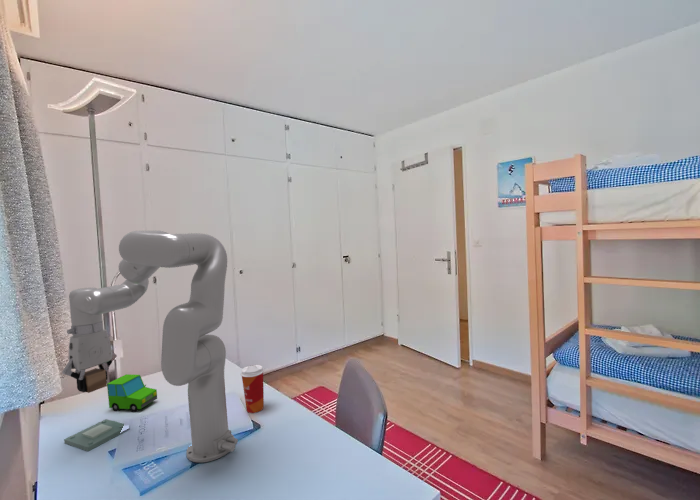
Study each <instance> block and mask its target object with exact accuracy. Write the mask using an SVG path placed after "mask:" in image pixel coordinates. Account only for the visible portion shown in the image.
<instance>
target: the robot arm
mask: <svg viewBox="0 0 700 500" xmlns="http://www.w3.org/2000/svg"><path fill="white" fill-rule="evenodd" d="M118 254H119V255H120V257H121V258H122V259H121V261H120V262H119V264H118V271H119V273H120V275H121V276H122V277H123V278H124V279H125V280H124V281H123V282H122V283H120V284H118V285H117V284H116V285H109V286H104V287H100V288H97V287H84V288H77V289H73V290H71V291H70V292H69V294H68V300H69V301H68V302H69V310H70V311H69V312H70V322H71V323H70V324H71V326H70V328H69V329H67V330H66V333H67V334H68V335H70V337H69V342H68V362H67V364H66V365H65V366H64V368H63V370H62V371H61V373H62V374H63V375H66V376H69V377H71V378H73V379H75V380H76V388H77V390H78V392H82V393H87V392H86V391H87V386H86V379H85V378H84V374H85V372H86V370H88V369H92V368H93V367H94V368H95V367H97V366H98V369H102V370H105V371H106V383H107V384H108V370H109V367H110V366H111V365H112V364H113V361H114V360H115V359H117V357H118V355H117V354H116V353H115V352H113V350H112V345H111V344H112V343H111V339H110V336H109V334H108V330H107V329H104V322H103V315H104V314H107V313H110V312H113V311H118V310H123V309H126V308H129V307H131V306H133V305H134V304H135V303H137V302H138V301H139V299H141V298H142V297H143V296H144V295H145V293H146V292H147V290H148V287H149V284H150V283H149V282H150V281H149V279H150V278H151V277H152V276H153V275H154V274H155V273H156V272H157V270H159V268H167V269H168V268H169V269H170V268H181V267H188V266H193V265H197V268H196V270H195V272H194V275H193V277H192V279H191V282H190V295H189V300H188V301H187V302H185V303H181V304H179V305H176V306H175V307H173V308H171V310H169V312H167V314H166V316H165V318H164V321H163V326H162V334H161V335H162V338H161V357H160V358H161V359H160V360H161V361H160V365H161V366H160V367H161V371H162V375H163V377H164V380H165V381H167V383H168V384H170V385H172V386H174V387H175V386H176V387H179V386H184V385H187V400H188V410H189V411H188V413H189V421H190V422H189V424H190V425H189V426H190V438H191V443H192V446H190V447H189V446H187V449H186V452H185V453H186V458H187V460H189V461H191V462H193V463H200V464H201V463H207V462H212V461H216V460H217V459H221V458H222V457H224V456H226V455H227V454H229V453H230V452H234V451H235V450H236V445H238V442H239V439H238V438H236V437H235V436H234V435H233V434H232V430H231V429H229V423H228V422H229V420H228V408H227V398H226V382H225V366H226V357H227V353H226V352H227V350H226V345H225V343H224V342H223V340H222V338H220V337H219V336H217V335H215V334H210V333H212V332H215V330H217V329H218V328H219V327H220V326H221V325H222V322H223V318H224V317H223V316H224V305H225V304H224V303H225V286H226V285H225V284H226V276H227V271H228V269H227V268H228V254H227V251H226V249H225V247H224V245H223V244H222V242H221V241H220V240H219V239H217V238H216V237H215V236H213V235H210V234H207V233H206V234H205V233H201V232H200V233H199V232H198V233H196V232H195V233H192V232H191V233H190V232H189V233H169V232H167V231H164V230H163V231H162V230H133V231H130V232H128V233H127V234H125V235H124V236H123V237H121V240H120V242H119V244H118ZM72 370H75V371H72Z"/></svg>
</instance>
